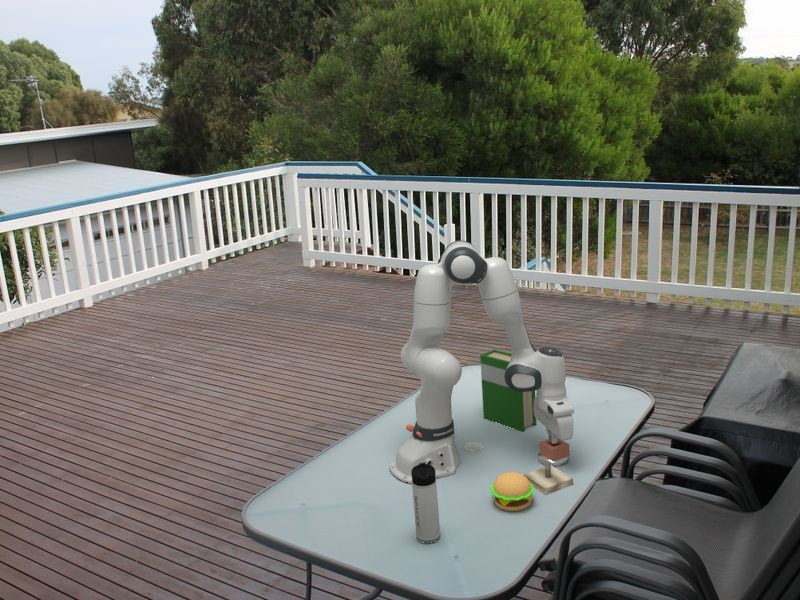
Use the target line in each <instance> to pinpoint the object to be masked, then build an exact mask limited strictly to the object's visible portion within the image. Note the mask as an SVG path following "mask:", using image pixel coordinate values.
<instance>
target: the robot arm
mask: <svg viewBox="0 0 800 600" xmlns="http://www.w3.org/2000/svg"><path fill="white" fill-rule="evenodd" d="M416 275H417V276H416V279H415V286H414V294H413V295H414V296H413V318H412V321H413V322H412V326H411V327H412V328H411V331H410V332H411V333H410V336H409V338H408V341H407V342H406V343H405V344H404V345H403V346H402V349H401V350H400V360H401V363H402V364H403V366H404V368H406V369H407V371H408V372H409V373H410V374H413V375H415V376H416V377H418V378H419V380H420V383H421V385H420V386H421V388H420V393H419V394H417V396H416V397H415V400H414V404H415V415H416V422H415V423H414V425H412V424H411V423H407V424H406V426H405V430H407V431H408V432H410V433H411V432H412V434H411V435H410V437H408V439H407V440H406V441H405V442H403V444H402V445H401V446H399V447H398V449H397V451H396V456H395V461H393V462H391V463H389V465H388V466H389V468H390V469H389V472H390V471H391V472H390V473H391V474H393V475H394V476H395V478H396V477H397V478H398V479H397V478H396V479H397V480H399V479H400V480H402V481H401V482H403V481H404V482H403V483H405V482H408V483H407V484H412V475H411V471H412V469H413V468H414V467H415V466H417V465H419V463H426V464H428V465H431V466H433V467H434V468H435V475H436V479H438V478H442V477H446V476H451V475H454V474H456V472H457V471H456V469H457V467H458V466H459V465H460V464H461V459H460V456H459V454H458V451H457V447H456V443H455V442H456V441H455V436H454V435H455V423H454V419H453V416H452V414H453V413H452V394H453V389H454V386H455V385H457V383H458V382H459V381H460V379H461V377H462V373H463V368H462V364H461V362H460V361H459V360H458V358H456V357H455V356H454V355H453V354H452V353H451V352H449V351H447V350H445V349H443V348H442V347H441V343H442V342H441V341H442V338H443V335H444V333H445V332H447V331H448V330H449V328H450V324H451V304H452V300H451V299H452V288H453V286H454V283H456V284H457V283H458V284H465V285H467V284H473V285H474V284H475V285H477V287H478V291H479V294H480V298H481V301H482V305H483V308H484V310H485V312H486V315H487V316H488V318H489V319H490V320H491V321H493V322H496V323H498V324H500V325H501V326H502V327H503V328H504V330H505V334H506V337H507V338H508V343H509V345H510V348H511V354H512V355H511V360H510V363H509V365H508V366H507V369H506V371H505V374H504V379H505V382H506V384H507V385H508V387H509V388H511V389H512V390H514V391H517V392H528V391H535V398H534V409H533V412H534V416H535V418H536V420H537V421H539V422H540V423H541V424H542V425H543V426H544V427H545V430H546V434H547V440H549V441H551V442H552V443H553V444H555V443H557V442H558V439H557V438H559V439H560V440H561V441H564V442H566V441H568V440H572V439H573V436H574V417H573V414H574V413H575V407H574V406H573V405H572V403H571V401H570V399H569V397H568V395H567V387H566V384H565V382H566V379H567V373H566V371H567V370H566V361H565V357H564V355H563V353H562V352H561V351H560V350H558V349H557V348H553V347H550V346H549V347H547V346H546V347H539V348H538V350H536V348H535V347H534V346H533V344H532V342H531V339H530V336H529V333H528V328H527V327H526V323H525V321H524V317H523V312H522V310H523V309H522V304H521V298H520V293H519V289H518V286H517V285H518V284H517V282H516V279H515V276H514V274H513V272H512V270H511V267H510V265H509V263H508V262H507V261H506V260H505V258H503V257H498V256H492V257H488V258H487V257H486V258H485V257H482V256H481V255H480V254H479V252H478V250H477V248H476V247H475V246H474V245H473V244H472V243H470V242H469V241H466V240H462V239H461V240H455V241H452V242H450V244H448V245H447V246H446V248H445V249H444V250H443V252H442V254H441V256H440V257H439V258H438V260H437V263H432V264H430V263H429V264H426V265H424V266H422V267H421V268H420V269H419V270H418V272H417V274H416ZM393 475H392V476H393ZM394 476H393V477H394ZM437 477H438V478H437ZM400 480H399V481H400Z"/></svg>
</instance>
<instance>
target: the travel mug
mask: <svg viewBox="0 0 800 600" xmlns="http://www.w3.org/2000/svg"><path fill="white" fill-rule="evenodd" d="M411 475H412V483H411V486H412V487H411V489H412V499H413V509H414V510H413V513H414V521H415V522H414V523H415V536H416V540H417V539H418V540H419V541H421V542H424V543H431V542H434V541H436V540H438V539H439V537H440V538H441V532H440V531H441V529H440V528H441V527H440V514H439V504H438V503H439V501H438V499H439V498H438V488H437V478H436V475H435V468H434V467H433V466H431V465H428V464H426V463H419V465H417V466H415V467H414V468H413V469H412V471H411ZM418 540H417V541H418ZM439 540H440V539H439ZM439 540H438V541H439ZM419 541H418V542H419ZM421 542H420V543H421ZM436 542H437V541H436ZM424 543H423V544H424ZM434 543H435V542H434ZM431 544H432V543H431Z"/></svg>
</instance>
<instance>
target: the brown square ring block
mask: <svg viewBox="0 0 800 600" xmlns="http://www.w3.org/2000/svg"><path fill="white" fill-rule="evenodd" d="M557 439H558V442H557V443H555V444H553V443H552V442H551V441H549V440H548V439H545V440H542V441H539V453H540V454H541V455H543V456H544V457H546V458H548V459H549V460H551V461H553V462H554V461H557V460H560V459H562V458H565V457H568V458H569V457H570V444H569V443H568V442H566V441H561V440H560V439H559V438H557Z"/></svg>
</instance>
